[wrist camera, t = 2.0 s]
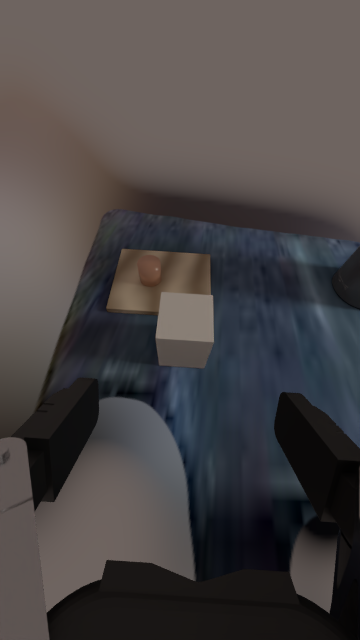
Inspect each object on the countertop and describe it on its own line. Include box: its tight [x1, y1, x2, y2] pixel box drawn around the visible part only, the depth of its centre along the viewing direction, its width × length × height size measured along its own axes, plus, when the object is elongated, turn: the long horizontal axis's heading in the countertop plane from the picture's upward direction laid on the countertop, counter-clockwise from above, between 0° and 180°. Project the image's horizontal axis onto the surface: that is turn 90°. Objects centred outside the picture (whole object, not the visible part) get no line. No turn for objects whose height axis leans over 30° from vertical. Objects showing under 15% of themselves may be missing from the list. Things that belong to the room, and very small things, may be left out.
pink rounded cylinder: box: [137, 255, 161, 287], centre depth 37 cm, size 4×4×4 cm
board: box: [106, 249, 211, 315], centre depth 39 cm, size 16×13×1 cm
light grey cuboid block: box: [156, 292, 214, 368], centre depth 30 cm, size 6×6×8 cm
